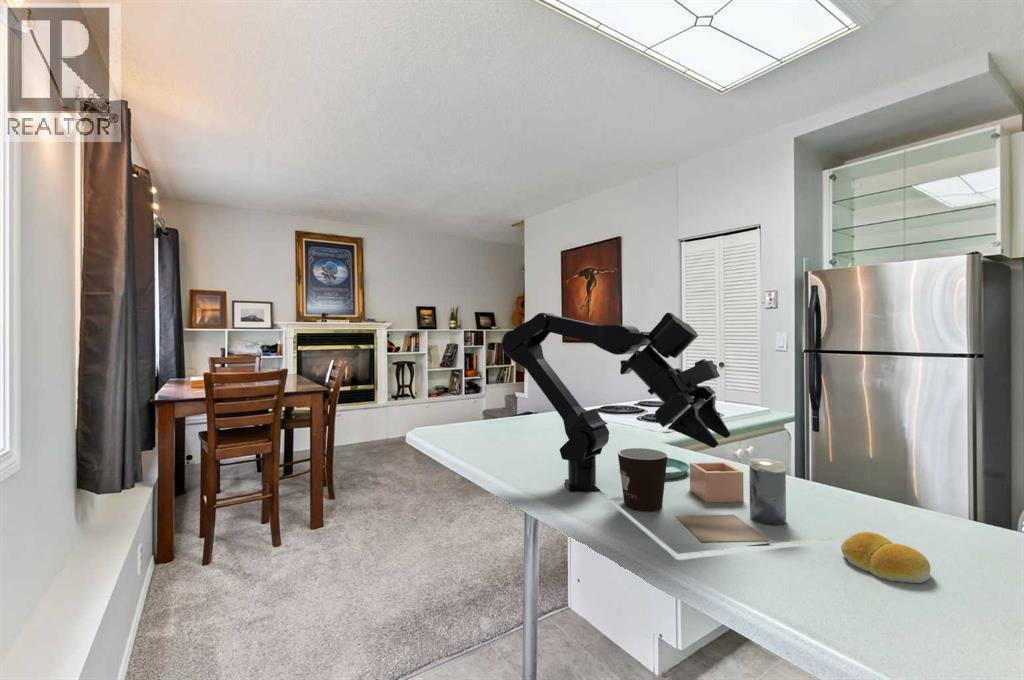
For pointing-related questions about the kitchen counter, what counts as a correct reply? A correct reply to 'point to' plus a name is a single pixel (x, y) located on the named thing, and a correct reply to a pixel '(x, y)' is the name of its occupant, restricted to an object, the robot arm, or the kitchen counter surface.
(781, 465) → the tea tin
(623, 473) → the brown coffee cup
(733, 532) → the coaster
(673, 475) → the saucer
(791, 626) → the kitchen counter surface
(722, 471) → the planter
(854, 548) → the bread roll
